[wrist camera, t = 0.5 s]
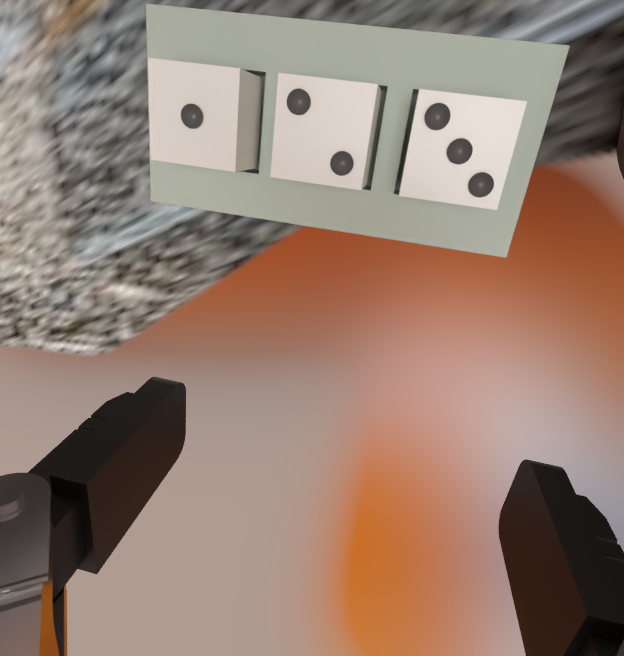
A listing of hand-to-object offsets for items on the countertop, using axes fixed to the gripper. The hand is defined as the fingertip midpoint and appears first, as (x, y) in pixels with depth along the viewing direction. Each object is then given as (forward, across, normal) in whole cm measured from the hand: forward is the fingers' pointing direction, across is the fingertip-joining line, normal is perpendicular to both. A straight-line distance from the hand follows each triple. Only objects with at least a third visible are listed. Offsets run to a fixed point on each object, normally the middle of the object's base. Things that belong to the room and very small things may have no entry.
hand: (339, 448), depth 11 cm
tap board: (+23, +4, -6) cm, 24 cm away
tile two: (+20, +4, -6) cm, 22 cm away
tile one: (+20, +11, -6) cm, 24 cm away
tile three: (+20, -3, -6) cm, 21 cm away
